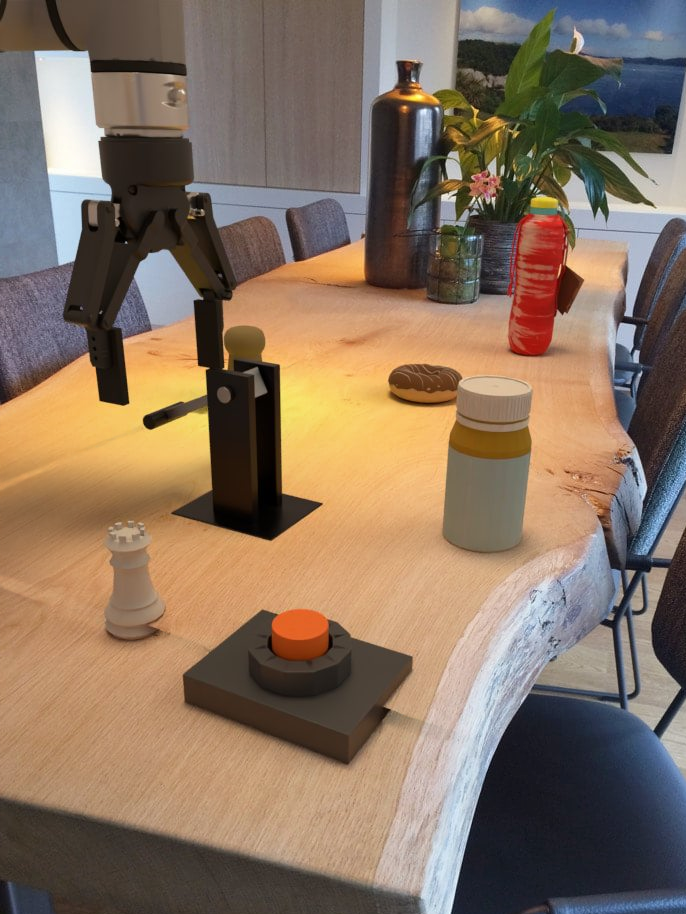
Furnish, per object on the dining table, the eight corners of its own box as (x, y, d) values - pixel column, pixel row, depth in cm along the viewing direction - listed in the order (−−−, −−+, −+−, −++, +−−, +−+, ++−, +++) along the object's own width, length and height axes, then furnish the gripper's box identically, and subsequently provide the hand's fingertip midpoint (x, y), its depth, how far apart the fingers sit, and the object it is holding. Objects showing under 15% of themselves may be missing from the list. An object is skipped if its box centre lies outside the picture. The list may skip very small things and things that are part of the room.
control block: (184, 702, 53) (180, 650, 52) (262, 634, 61) (261, 587, 59) (348, 765, 48) (349, 710, 47) (411, 683, 56) (414, 633, 54)
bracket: (171, 525, 77) (159, 369, 71) (229, 491, 84) (222, 347, 78) (271, 553, 72) (267, 389, 66) (323, 515, 80) (323, 364, 74)
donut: (394, 407, 111) (395, 378, 109) (381, 385, 121) (382, 358, 119) (471, 406, 113) (473, 377, 111) (452, 384, 122) (454, 357, 121)
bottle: (457, 523, 79) (470, 369, 73) (529, 539, 76) (547, 381, 70) (429, 553, 73) (440, 389, 67) (505, 572, 70) (523, 402, 64)
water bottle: (565, 347, 146) (585, 196, 136) (577, 358, 139) (598, 200, 128) (498, 345, 146) (512, 194, 135) (505, 356, 138) (521, 198, 128)
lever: (148, 436, 77) (137, 412, 76) (182, 421, 81) (173, 398, 80) (244, 402, 70) (233, 376, 70) (276, 388, 74) (266, 363, 74)
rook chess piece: (152, 646, 59) (143, 546, 56) (94, 638, 60) (81, 539, 56) (177, 613, 63) (169, 518, 60) (122, 606, 64) (111, 512, 60)
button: (260, 652, 52) (260, 629, 52) (291, 625, 55) (291, 603, 55) (309, 669, 51) (310, 645, 50) (338, 640, 54) (338, 617, 53)
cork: (213, 412, 107) (209, 327, 103) (245, 401, 112) (243, 319, 107) (248, 421, 104) (245, 334, 100) (280, 410, 109) (278, 326, 104)
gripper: (63, 133, 57) (99, 428, 65) (267, 135, 77) (274, 359, 86) (-14, 131, 60) (30, 413, 68) (202, 133, 80) (215, 350, 89)
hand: (166, 384), depth 77 cm, fingers open, 13 cm apart
